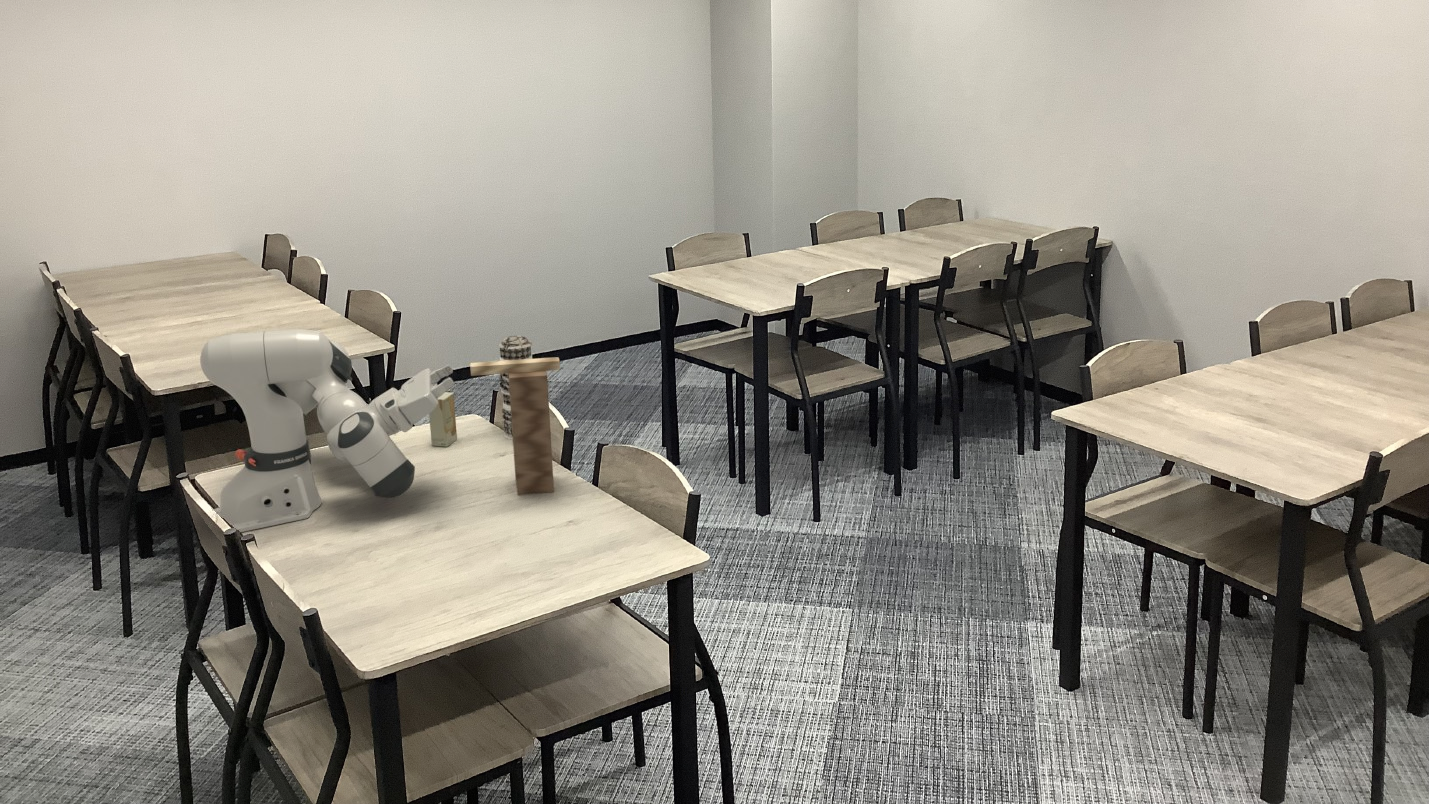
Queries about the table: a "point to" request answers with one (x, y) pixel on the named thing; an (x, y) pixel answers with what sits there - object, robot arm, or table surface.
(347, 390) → the robot arm
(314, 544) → the table surface
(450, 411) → the skincare box
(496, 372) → the slat
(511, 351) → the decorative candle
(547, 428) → the pedestal
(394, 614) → the table surface
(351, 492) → the table surface
